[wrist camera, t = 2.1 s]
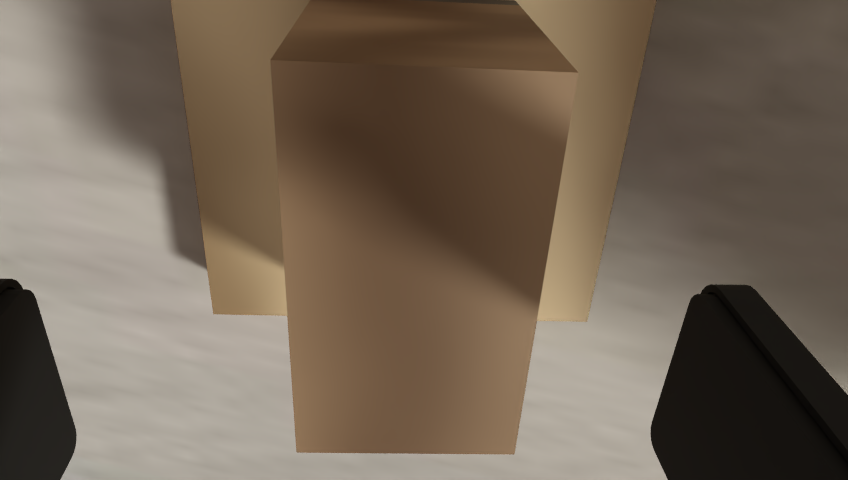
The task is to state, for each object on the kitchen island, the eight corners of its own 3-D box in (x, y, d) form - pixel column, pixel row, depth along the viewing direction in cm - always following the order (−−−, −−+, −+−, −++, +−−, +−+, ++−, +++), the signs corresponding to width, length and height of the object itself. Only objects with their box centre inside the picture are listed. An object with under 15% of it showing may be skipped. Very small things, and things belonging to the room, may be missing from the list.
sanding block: (515, 0, 15) (578, 72, 10) (482, 291, 19) (514, 454, 14) (316, -9, 15) (269, 59, 9) (325, 287, 18) (296, 452, 13)
